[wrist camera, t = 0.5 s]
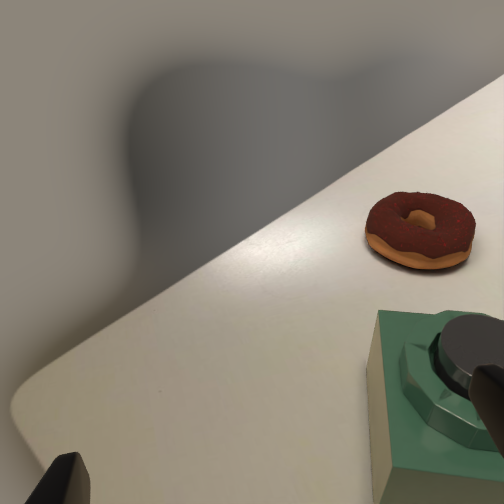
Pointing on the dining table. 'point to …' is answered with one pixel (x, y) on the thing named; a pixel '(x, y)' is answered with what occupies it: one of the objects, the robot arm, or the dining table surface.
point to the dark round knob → (468, 349)
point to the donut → (421, 230)
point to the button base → (424, 421)
